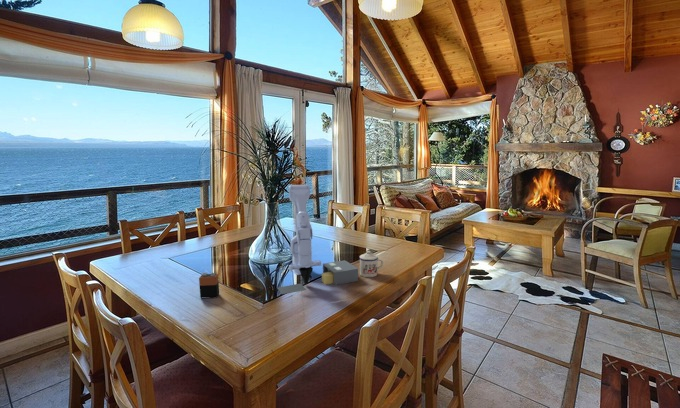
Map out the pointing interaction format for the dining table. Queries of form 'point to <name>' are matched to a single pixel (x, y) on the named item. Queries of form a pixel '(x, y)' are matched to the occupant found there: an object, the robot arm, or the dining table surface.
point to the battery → (209, 285)
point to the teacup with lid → (369, 264)
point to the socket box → (341, 271)
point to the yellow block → (328, 277)
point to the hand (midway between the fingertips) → (305, 283)
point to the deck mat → (291, 288)
